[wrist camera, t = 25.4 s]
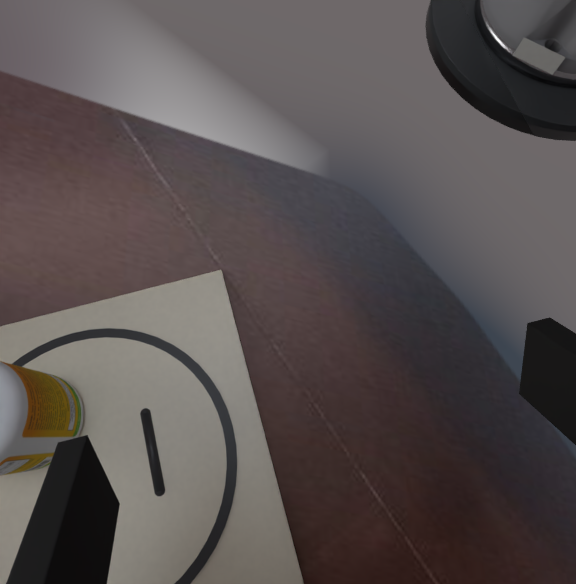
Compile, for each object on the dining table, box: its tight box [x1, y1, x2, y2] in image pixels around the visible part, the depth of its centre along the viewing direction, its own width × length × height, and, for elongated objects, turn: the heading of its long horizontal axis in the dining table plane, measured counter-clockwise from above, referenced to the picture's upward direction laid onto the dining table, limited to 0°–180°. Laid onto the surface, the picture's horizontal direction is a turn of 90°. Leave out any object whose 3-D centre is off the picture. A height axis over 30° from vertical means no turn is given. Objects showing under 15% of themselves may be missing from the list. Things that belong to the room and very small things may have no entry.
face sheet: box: [0, 270, 304, 584], centre depth 25 cm, size 20×20×1 cm
